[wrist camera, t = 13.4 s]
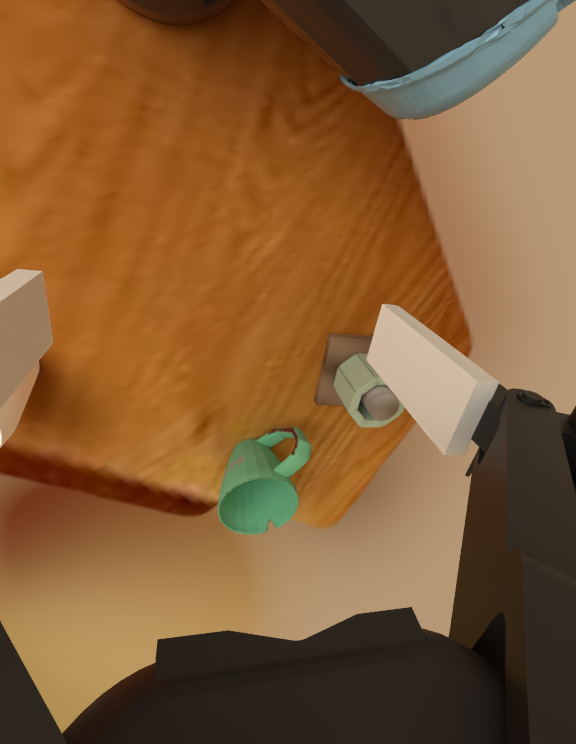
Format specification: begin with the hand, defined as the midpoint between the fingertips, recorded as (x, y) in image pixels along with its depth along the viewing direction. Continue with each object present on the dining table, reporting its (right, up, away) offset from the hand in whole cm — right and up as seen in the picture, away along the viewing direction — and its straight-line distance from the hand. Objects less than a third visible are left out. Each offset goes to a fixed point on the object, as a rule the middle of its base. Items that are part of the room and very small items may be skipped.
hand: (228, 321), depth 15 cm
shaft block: (+12, -2, +35) cm, 37 cm away
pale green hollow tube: (+12, -3, +34) cm, 36 cm away
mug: (-2, -12, +38) cm, 40 cm away
